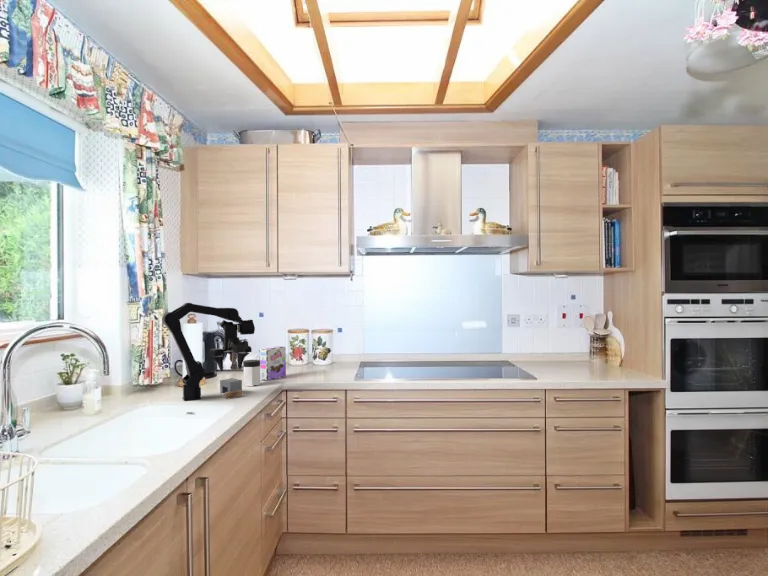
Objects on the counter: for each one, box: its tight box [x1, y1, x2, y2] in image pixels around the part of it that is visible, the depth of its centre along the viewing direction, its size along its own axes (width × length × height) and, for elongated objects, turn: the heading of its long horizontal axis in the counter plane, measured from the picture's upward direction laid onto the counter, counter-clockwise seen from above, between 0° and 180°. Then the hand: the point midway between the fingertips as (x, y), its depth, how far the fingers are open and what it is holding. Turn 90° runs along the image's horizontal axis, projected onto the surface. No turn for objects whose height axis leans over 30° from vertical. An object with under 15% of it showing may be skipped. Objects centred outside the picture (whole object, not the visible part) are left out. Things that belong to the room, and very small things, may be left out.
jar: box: [242, 359, 262, 387], centre depth 225 cm, size 9×8×12 cm
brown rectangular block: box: [224, 390, 243, 400], centre depth 199 cm, size 7×2×2 cm, turn 121°
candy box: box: [258, 345, 287, 381], centre depth 242 cm, size 14×6×16 cm, turn 147°
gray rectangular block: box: [219, 377, 243, 393], centre depth 207 cm, size 6×8×6 cm
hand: (230, 369), depth 207 cm, fingers open, 9 cm apart
